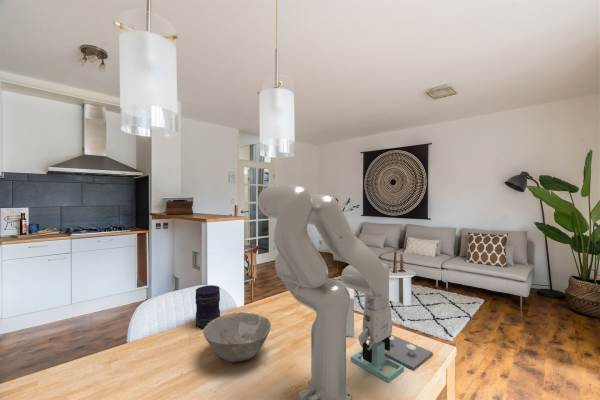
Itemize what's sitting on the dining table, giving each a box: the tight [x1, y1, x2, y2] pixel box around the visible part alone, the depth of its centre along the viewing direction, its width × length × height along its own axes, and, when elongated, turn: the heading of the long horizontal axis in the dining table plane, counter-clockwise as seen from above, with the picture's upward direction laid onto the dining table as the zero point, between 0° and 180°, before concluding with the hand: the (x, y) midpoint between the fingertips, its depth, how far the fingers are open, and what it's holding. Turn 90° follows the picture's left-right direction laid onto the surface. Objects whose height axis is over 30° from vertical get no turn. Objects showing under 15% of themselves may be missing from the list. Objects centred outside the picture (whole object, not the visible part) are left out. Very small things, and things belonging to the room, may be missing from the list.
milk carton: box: [342, 283, 355, 338], centre depth 110 cm, size 7×7×19 cm
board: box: [385, 334, 434, 372], centre depth 96 cm, size 13×16×4 cm
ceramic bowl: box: [202, 312, 272, 363], centre depth 94 cm, size 22×23×10 cm
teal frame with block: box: [350, 341, 405, 383], centre depth 88 cm, size 9×14×7 cm, turn 40°
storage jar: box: [194, 285, 221, 330], centre depth 117 cm, size 10×10×15 cm
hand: (376, 354), depth 89 cm, fingers open, 9 cm apart
